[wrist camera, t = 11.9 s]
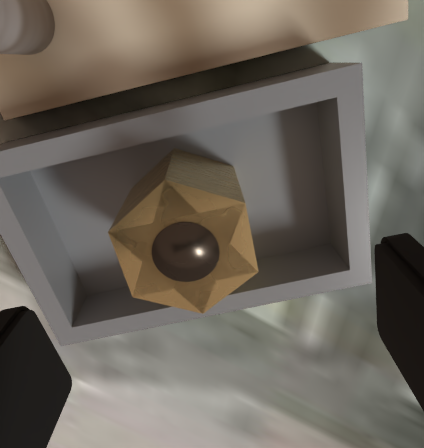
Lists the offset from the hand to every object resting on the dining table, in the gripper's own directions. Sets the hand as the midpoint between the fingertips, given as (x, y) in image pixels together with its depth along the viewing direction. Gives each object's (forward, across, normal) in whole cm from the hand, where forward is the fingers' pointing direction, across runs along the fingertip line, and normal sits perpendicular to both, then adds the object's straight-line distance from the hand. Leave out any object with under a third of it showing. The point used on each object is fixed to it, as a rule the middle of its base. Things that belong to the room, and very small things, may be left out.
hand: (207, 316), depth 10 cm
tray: (+10, +1, 0) cm, 10 cm away
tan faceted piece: (+9, +1, 0) cm, 9 cm away
